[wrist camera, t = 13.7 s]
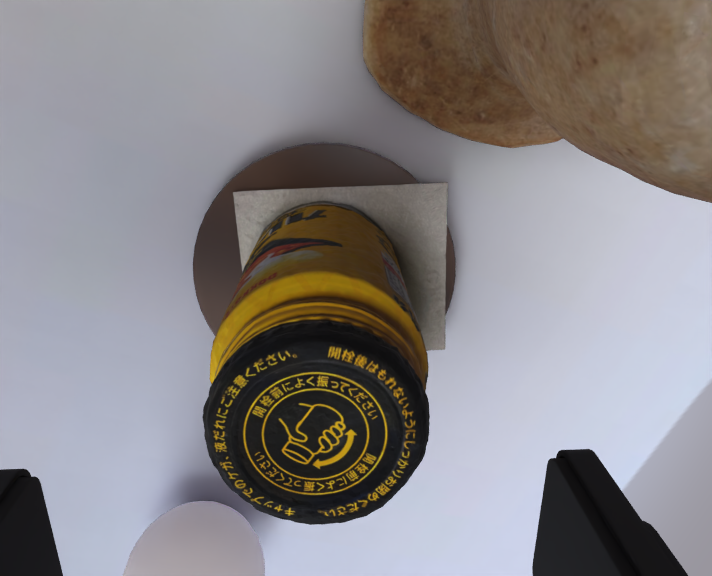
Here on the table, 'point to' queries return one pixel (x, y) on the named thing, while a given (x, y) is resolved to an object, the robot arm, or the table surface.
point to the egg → (198, 544)
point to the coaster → (273, 172)
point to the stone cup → (558, 77)
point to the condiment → (328, 348)
